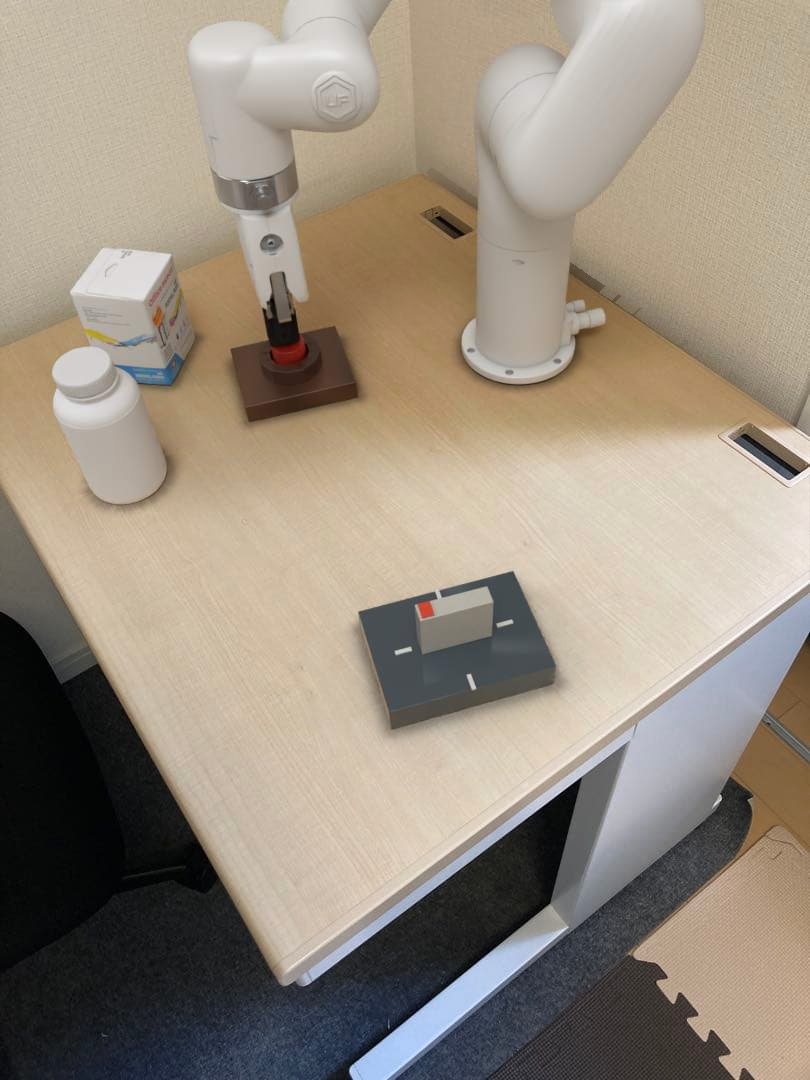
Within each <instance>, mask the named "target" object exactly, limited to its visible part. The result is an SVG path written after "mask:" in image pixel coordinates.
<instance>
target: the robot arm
mask: <svg viewBox="0 0 810 1080" xmlns="http://www.w3.org/2000/svg"><path fill="white" fill-rule="evenodd" d="M391 2H392V0H287V3H286V5H285V8H284V11H283V14H282V17H281V22H280V25H279V26H280V27H279V40H278V39H277V38H276V36H275V35H274V34H273V32H272V31H271V30H270V29H268V27H266V26H264V25H262V24H260V23H258V22H255V21H250V20H227V21H221V22H217V23H213V24H210V25H208V26H206V27H203V28H201V29H199V30H198V31H197V32H196V33H195V34H194V35H193V36H192V38H191V39H190V41H189V43H188V46H187V50H186V52H187V55H186V59H187V65H188V71H189V75H190V80H191V85H192V90H193V94H194V99H195V103H196V108H197V113H198V116H199V117H198V118H199V121H200V126H201V131H202V134H203V140H204V143H205V144H204V145H205V150H206V153H207V158H208V162H209V168H210V172H211V176H212V181H213V186H214V190H215V196H216V200H217V203H218V204H219V206H220V207H221V208H222V209H224V210H226V211H228V212H230V213H232V214H233V217H234V222H235V226H236V230H237V231H236V232H237V235H238V240H239V244H240V247H241V251H242V255H243V258H244V262H245V265H246V268H247V271H248V274H249V277H250V280H251V284H252V287H253V289H254V291H255V295H256V297H257V300H258V302H259V306H260V307H261V310H262V316H263V321H264V324H265V330H266V335H267V340H269V343H270V346H271V347H277V346H282V345H286V344H291V343H296V342H299V341H300V335H299V333H300V329H299V323H298V318H297V317H298V316H297V310H296V308H295V304H294V300H293V298H294V299H295V301H296V302H297V303H298V304H300V303H307V302H308V300H309V298H310V294H309V289H308V284H307V278H306V273H305V267H304V261H303V256H302V250H301V243H300V238H299V232H298V228H297V223H296V218H295V214H294V209H293V205H292V203H294V201H295V200H296V199H297V197H298V196H299V193H300V184H299V178H298V172H297V171H298V170H297V164H296V163H297V161H296V156H295V148H294V140H293V133H292V131H293V130H294V131H301V132H302V131H303V132H312V133H328V134H331V133H333V134H334V133H335V134H336V133H344V132H348V131H351V130H354V129H357V128H358V127H361V126H362V125H364V123H366V122H367V121H368V120H369V119H370V118H371V116H372V115H373V114H374V112H375V110H376V109H377V106H378V104H379V102H380V101H379V100H380V96H381V80H380V73H379V69H378V66H377V63H376V59H375V56H374V52H373V50H372V47H371V43H370V39H369V37H370V35H371V34H372V32H373V30H374V28H375V27H376V25H377V24H378V22H379V20H380V19H381V17H382V16H383V14H384V13H385V11H386V10H387V8H388V7H389V5H391ZM550 8H551V13H552V16H553V19H554V21H555V23H556V26H557V28H558V31H559V32H560V35H561V36H562V38H563V40H564V41H565V43H566V45H567V46H568V47H569V49H570V52H569V53H568V55H567V57H565V56H564V55H563V54H562V53H561V52H559V51H558V50H556V49H554V48H553V47H550V46H548V45H546V44H542V43H535V42H525V43H520V44H516V45H513V46H511V47H509V48H507V49H505V50H503V52H501V53H500V54H498V55H497V56H496V57H495V58H494V59H493V60H492V61H491V62H490V64H488V66H487V68H486V69H485V70H484V72H483V74H482V76H481V78H480V80H479V82H478V86H477V89H476V92H475V97H474V102H473V104H474V105H473V133H474V135H473V136H474V147H475V159H476V160H475V161H476V178H477V181H476V182H477V223H476V224H477V225H476V226H477V227H476V281H475V282H476V283H475V289H476V290H475V316H474V317H473V319H471V320H470V321H469V322H468V323H467V325H466V326H465V328H464V330H463V331H462V332H463V333H462V335H461V344H460V346H461V354H462V356H463V358H464V361H465V362H466V363H467V364H468V366H469V367H470V368H471V369H473V370H474V372H476V373H477V374H479V375H481V376H482V377H484V378H486V379H489V380H492V381H494V382H498V383H503V384H509V385H529V384H535V383H540V382H543V381H546V380H549V379H551V378H553V377H556V376H557V375H559V374H560V373H562V372H563V371H564V370H565V369H566V368H567V367H568V366H569V365H570V364H571V361H572V360H573V358H574V355H575V350H576V338H575V335H578V334H579V332H580V330H583V329H584V330H585V329H592V328H597V327H601V326H605V324H606V320H607V319H606V313H605V311H604V309H603V308H602V307H597V308H592V309H589V310H586V303H585V300H584V299H583V298H582V299H577V300H572V301H570V302H567V294H568V286H569V285H568V284H569V275H570V267H571V257H572V249H573V241H574V240H573V239H574V231H575V224H576V216H577V215H576V214H577V213H578V214H579V212H581V211H583V210H584V209H586V208H588V206H590V205H591V204H593V203H594V201H596V200H597V199H598V198H599V197H600V196H601V195H602V194H603V193H604V192H605V191H606V190H607V189H608V188H609V186H610V185H611V184H612V183H613V181H614V180H615V179H616V178H617V176H618V175H619V173H620V172H621V171H622V169H624V167H625V165H627V163H628V162H629V160H630V159H631V157H632V156H633V155H634V154H635V151H637V150H638V148H639V147H640V145H641V144H642V143H643V141H644V140H645V138H646V137H647V136H648V134H649V133H650V131H651V130H652V129H653V127H654V126H655V125H656V124H657V122H658V121H659V120H660V118H661V117H662V115H663V114H664V113H665V111H666V110H667V108H668V107H669V105H671V103H672V101H673V100H674V99H675V97H676V95H677V94H678V93H679V92H680V90H681V89H682V87H683V86H684V84H685V82H686V81H687V79H688V78H689V76H690V75H691V72H692V69H693V68H694V66H695V64H696V61H697V58H698V56H699V53H700V50H701V47H702V43H703V39H704V34H705V27H706V15H705V7H704V1H703V0H550Z"/></svg>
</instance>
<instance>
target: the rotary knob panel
mask: <svg viewBox="0 0 810 1080" xmlns="http://www.w3.org/2000/svg"><path fill="white" fill-rule="evenodd" d="M486 586H487V587H488V590H489V592H490V594H491V597H492V599H493V622H492V636H490V637H486V638H482V639H478V640H475V641H471V642H467V643H463V644H460V645H456V646H452V647H448V648H445V649H441V650H437V651H433V652H430V653H426V654H422V652H421V649H420V646H419V643H418V640H417V630H416V616H415V605H417V604H420V603H424V602H427V601H432V600H436V599H440V598H444V597H448V596H451V595H455V594H459V593H463V592H467V591H471V590H475V589H479V588H482V587H486ZM433 590H434V591H431V592H427V593H424V594H420V595H415V596H412V597H408V598H405V599H401V600H397V601H392V602H389V603H386V604H382V605H378V606H374V607H371V608H365V609H362V610H359V611H358V612H357V613H358V620H359V626H360V632H361V635H362V638H363V641H364V644H365V648H366V652H367V655H368V658H369V662H370V665H371V668H372V672H373V673H374V674H373V675H374V679H375V681H376V684H377V687H378V691H379V694H380V698H381V701H382V704H383V708H384V711H385V714H386V718H387V721H388V724H389V727H390V730H391V731H392V730H395V729H398V728H403V727H406V726H409V725H413V724H417V723H420V722H423V721H427V720H431V719H435V718H437V717H441V716H445V715H449V714H453V713H455V712H459V711H463V710H467V709H470V708H473V707H476V706H480V705H484V704H487V703H491V702H494V701H498V700H502V699H505V698H509V697H512V696H517V695H519V694H522V693H526V692H529V691H533V690H537V689H541V688H543V687H547V686H551V685H554V682H555V676H556V669H557V664H556V662H555V660H554V658H553V655H552V654H551V650H550V648H549V647H548V644H547V642H546V640H545V638H544V636H543V635H544V634H543V633H542V631H541V628H540V626H539V624H538V622H537V620H536V618H535V616H534V614H533V611H532V609H531V607H530V605H529V602H528V600H527V598H526V596H525V594H524V591H523V589H522V587H521V585H520V583H519V580H518V578H517V575H516V574H515V571H514V570H510V571H508V572H503V573H500V574H495V575H493V576H492V575H491V576H489V577H485V578H481V579H477V580H473V581H469V582H466V583H462V584H457V585H454V586H450V587H446V588H443V589H439V588H438V587H437V588H434V589H433Z"/></svg>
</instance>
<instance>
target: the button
mask: <svg viewBox="0 0 810 1080" xmlns="http://www.w3.org/2000/svg"><path fill="white" fill-rule="evenodd" d="M299 335H300V341H299V342H296V343H291V344H286V345H282V346H277V347H271V349H272V354H273V358H274V360H275V361H276V362H277V363H278V364H282V365H291V364H296V363H299V362H300V361H302V360H303V359H305V357H306V347H305V341H304V337H303V336H302V335H301V334H299Z"/></svg>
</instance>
